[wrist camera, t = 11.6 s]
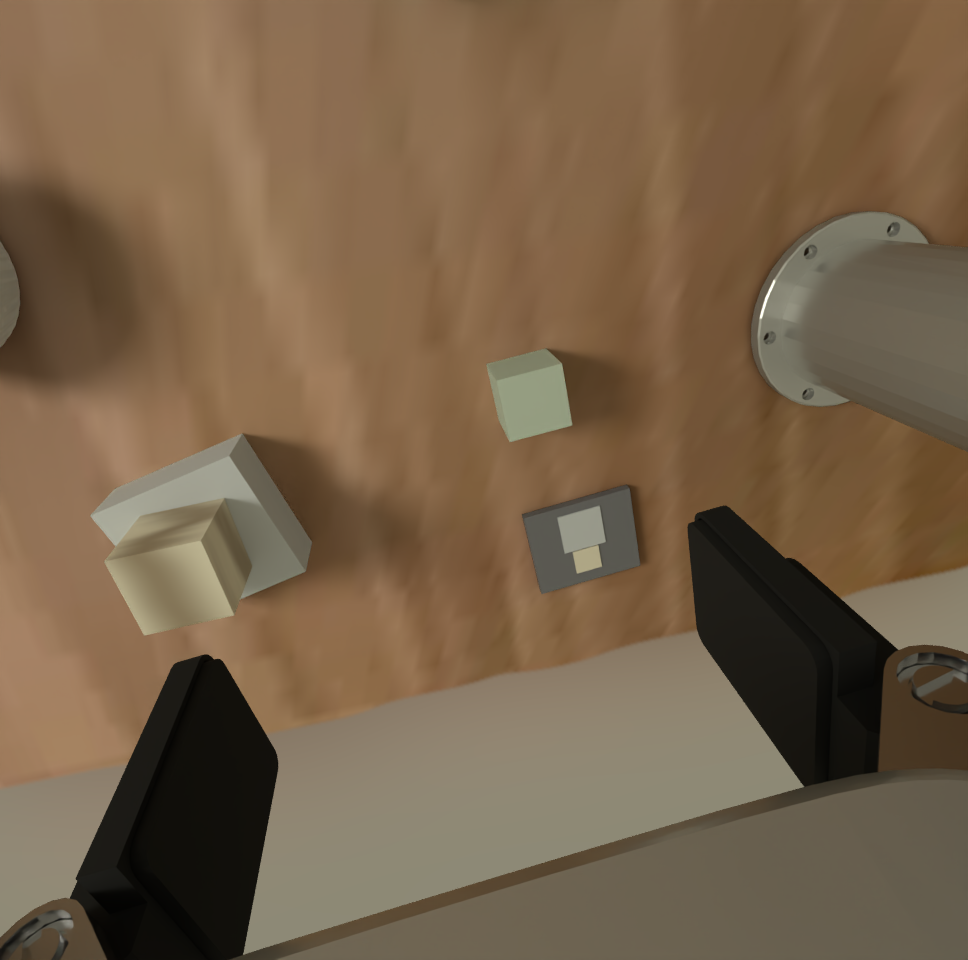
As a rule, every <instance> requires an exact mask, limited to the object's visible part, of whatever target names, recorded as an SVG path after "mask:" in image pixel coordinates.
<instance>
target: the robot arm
mask: <svg viewBox="0 0 968 960" xmlns="http://www.w3.org/2000/svg"><path fill="white" fill-rule="evenodd" d="M751 345H752V351H753V357H754V360H755V363H756V365H757V368H758V370H759V373H760V374H761V375H762V377H763V378H764V380H765V381H766V382H767V384H768V385H769V386H770V387H771V388H773V389H774V390H775V391H776V392H777V393H779V394H780V395H782V396H784V397H786V398H788V399H790V400H792V401H794V402H797V403H799V404H802V405H807V406H817V407H824V406H834V405H839V404H842V403H846V402H849V401H853V402H855V403H857V404H860V405H862V406H864V407H866V408H869V409H871V410H873V411H876V412H878V413H880V414H882V415H885V416H887V417H889V418H892V419H894V420H896V421H898V422H901V423H903V424H905V425H908V426H910V427H912V428H914V429H917V430H919V431H921V432H923V433H926V434H928V435H930V436H933V437H935V438H937V439H939V440H942V441H944V442H946V443H949V444H951V445H953V446H955V447H958V448H960V449H962V450H965V451H967V452H968V247H958V246H946V245H935V244H929V243H928V241H927V239H926V237H925V236H924V235H923V234H922V233H921V231H920V230H919V229H918V228H917V227H916V226H915V225H913V224H912V223H910V222H909V221H907V220H906V219H904V218H903V217H900V216H897V215H893V214H890V213H886V212H872V211H866V212H852V213H848V214H844V215H841V216H837V217H834V218H832V219H830V220H828V221H825V222H823V223H821V224H819V225H817V226H816V227H814V228H813V229H811V230H810V231H809V232H807V233H806V234H804V235H803V236H802V237H800V238H799V239H798V240H797V241H796V242H795V243H794V244H793V245H792V246H791V247H790V248H789V249H788V250H787V251H786V252H785V253H784V254H783V255H782V257H781V258H780V259H779V261H778V262H777V263H776V265H775V266H774V267H773V269H772V270H771V272H770V274H769V276H768V277H767V279H766V281H765V283H764V285H763V286H762V289H761V291H760V294H759V297H758V300H757V302H756V305H755V309H754V314H753V319H752V324H751ZM688 539H689V550H690V561H691V571H692V582H693V593H694V604H695V614H696V625H697V630H698V634H699V636H700V639H701V641H702V643H703V644H704V646H705V647H706V649H707V650H708V652H709V653H710V655H711V656H712V657H713V659H714V660H715V662H716V663H717V664H718V666H719V667H720V668H721V670H722V672H723V673H724V674H725V676H726V677H727V679H728V680H729V681H730V683H731V684H732V686H733V687H734V688H735V690H736V691H737V693H738V694H739V696H740V697H741V698H742V699H743V701H744V702H745V704H746V705H747V707H748V708H749V710H750V711H751V712H752V714H753V715H754V717H755V718H756V720H757V721H758V722H759V724H760V725H761V727H762V728H763V729H764V731H765V732H766V734H767V735H768V736H769V738H770V739H771V741H772V742H773V744H774V745H775V746H776V748H777V749H778V751H779V752H780V753H781V755H782V756H783V758H784V759H785V761H786V762H787V763H788V765H789V766H790V768H791V769H792V770H793V772H794V773H795V775H796V776H797V777H798V779H799V780H800V782H801V783H802V784H803V785H804V787H803V788H799V789H796V790H792V791H788V792H785V793H781V794H778V795H774V796H770V797H767V798H763V799H759V800H756V801H752V802H749V803H745V804H741V805H738V806H734V807H731V808H727V809H723V810H720V811H716V812H713V813H710V814H706V815H703V816H700V817H696V818H693V819H689V820H686V821H683V822H679V823H676V824H672V825H669V826H666V827H663V828H659V829H656V830H652V831H649V832H645V833H642V834H639V835H635V836H632V837H628V838H625V839H622V840H618V841H615V842H612V843H608V844H605V845H601V846H598V847H595V848H591V849H588V850H585V851H581V852H578V853H574V854H571V855H568V856H564V857H561V858H558V859H555V860H551V861H548V862H545V863H541V864H538V865H535V866H531V867H528V868H525V869H521V870H518V871H515V872H512V873H508V874H505V875H501V876H498V877H495V878H492V879H488V880H485V881H482V882H478V883H475V884H472V885H468V886H465V887H462V888H459V889H455V890H452V891H449V892H445V893H442V894H439V895H436V896H432V897H429V898H425V899H422V900H419V901H416V902H412V903H409V904H406V905H402V906H399V907H396V908H393V909H390V910H386V911H383V912H380V913H377V914H373V915H370V916H367V917H364V918H360V919H358V920H354V921H351V922H348V923H344V924H341V925H338V926H334V927H332V928H328V929H325V930H321V931H318V932H315V933H312V934H308V935H305V936H302V937H299V938H295V939H292V940H289V941H286V942H283V943H280V944H276V945H273V946H270V947H266V948H263V949H260V950H257V951H254V952H251V953H248V954H245V955H243V952H244V947H245V941H246V937H247V931H248V926H249V920H250V915H251V910H252V905H253V900H254V894H255V889H256V884H257V878H258V873H259V868H260V862H261V857H262V852H263V847H264V841H265V836H266V831H267V825H268V820H269V815H270V809H271V804H272V799H273V794H274V788H275V783H276V778H277V772H278V758H277V754H276V751H275V749H274V747H273V746H272V744H271V742H270V741H269V739H268V737H267V735H266V734H265V732H264V730H263V729H262V727H261V725H260V723H259V722H258V720H257V718H256V717H255V715H254V713H253V712H252V710H251V708H250V706H249V705H248V703H247V701H246V700H245V698H244V696H243V695H242V693H241V691H240V689H239V688H238V686H237V684H236V683H235V681H234V679H233V678H232V676H231V674H230V672H229V671H228V669H227V667H226V666H225V664H224V663H223V661H222V660H220V659H215V660H214V659H213V658H212V657H211V656H209V655H201V656H198V657H194V658H191V659H187V660H184V661H180V662H177V663H176V664H174V665H173V667H172V668H171V670H170V673H169V675H168V677H167V679H166V681H165V684H164V686H163V688H162V690H161V692H160V694H159V697H158V699H157V701H156V703H155V705H154V708H153V710H152V712H151V714H150V716H149V719H148V721H147V723H146V725H145V727H144V730H143V732H142V734H141V736H140V738H139V741H138V743H137V745H136V747H135V749H134V752H133V754H132V756H131V758H130V760H129V763H128V765H127V767H126V769H125V772H124V774H123V776H122V778H121V780H120V782H119V785H118V787H117V789H116V791H115V793H114V796H113V798H112V800H111V802H110V804H109V807H108V809H107V811H106V813H105V815H104V817H103V820H102V822H101V824H100V826H99V828H98V831H97V833H96V835H95V837H94V840H93V842H92V844H91V846H90V848H89V851H88V853H87V855H86V857H85V859H84V862H83V864H82V866H81V868H80V870H79V872H78V875H77V877H76V880H77V883H76V886H75V888H74V890H73V892H72V895H71V897H70V899H68V898H62V899H58V900H53V901H50V902H48V903H46V904H44V905H42V906H40V907H38V908H36V909H34V910H32V911H31V912H30V913H28V914H27V915H25V916H24V917H23V918H21V919H20V920H19V921H17V922H16V923H15V924H14V925H13V926H12V927H11V928H10V929H9V930H8V931H7V932H6V933H5V934H4V935H3V936H1V937H0V960H968V654H966V653H964V652H962V651H958V650H955V649H951V648H947V647H943V646H933V645H918V646H908V647H906V648H903V649H901V650H898V649H897V648H896V647H894V646H893V645H892V644H891V643H890V642H889V641H888V640H887V639H885V638H884V637H883V636H882V635H881V634H880V633H879V632H877V631H876V630H875V629H874V628H873V627H872V626H871V625H870V624H868V623H867V622H866V621H865V620H864V619H863V618H862V617H861V616H859V615H858V614H857V613H856V612H855V611H854V610H852V609H851V608H850V607H849V606H848V605H847V604H846V603H845V602H844V601H842V600H841V599H840V598H839V597H838V596H837V595H836V594H835V593H833V592H832V591H831V590H830V589H829V588H828V587H827V586H826V585H824V584H823V583H822V582H821V581H820V580H819V579H818V578H817V577H815V576H814V575H813V574H812V573H811V572H810V571H809V570H807V569H806V568H805V567H804V566H803V565H802V564H801V563H799V562H798V561H796V560H795V559H792V558H786V559H785V558H784V557H783V556H782V555H781V554H780V553H779V552H778V551H777V550H775V549H774V548H773V547H772V546H771V545H770V544H769V543H768V542H767V541H766V540H764V539H763V538H762V537H761V536H760V535H759V534H758V533H757V532H756V531H754V530H753V529H752V528H751V527H750V526H749V525H748V524H747V523H746V522H745V521H743V520H742V519H741V518H740V517H739V516H738V515H737V514H736V513H735V512H734V511H732V510H731V509H730V508H729V507H727V506H720V507H717V508H713V509H710V510H706V511H703V512H700V513H697V514H696V515H695V522H692V523H689V524H688Z"/></svg>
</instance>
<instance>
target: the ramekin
mask: <svg viewBox="0 0 968 960" xmlns="http://www.w3.org/2000/svg"><path fill="white" fill-rule="evenodd" d="M19 307H20V290H19V284H18V278H17V275H16V271H15V268H14V266H13V264H12V262H11V259H10V257H9V254H8V253H7V251H6V250H5V248H4V246H3V245H2V243H1V241H0V347H1V346H2V345H3V344H4V343H5V342H6V340H7V338H8V337H10V335H11V334H12V331H13V329H14V327H15V326H16V321H17V318H18V316H19Z"/></svg>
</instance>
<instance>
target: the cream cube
mask: <svg viewBox="0 0 968 960" xmlns="http://www.w3.org/2000/svg"><path fill="white" fill-rule="evenodd" d="M104 562H105V564H106V566H107V568H108V570H109V571H110V573H111V575H112V577H113V579H114V581H115V582H116V584H117V586H118V588H119V590H120V592H121V593H122V595H123V597H124V599H125V601H126V603H127V605H128V606H129V608H130V610H131V612H132V614H133V616H134V617H135V619H136V621H137V623H138V625H139V627H140V628H141V630H142V632H143V634H144V635H149V634H153V633H158V632H162V631H167V630H171V629H175V628H180V627H184V626H189V625H193V624H198V623H202V622H207V621H211V620H216V619H220V618H224V617H229V616H233V615H235V612H236V609H237V607H238V604H239V601H240V598H241V596H242V593H243V590H244V588H245V585H246V582H247V580H248V577H249V574H250V572H251V569H252V564H251V561H250V559H249V557H248V554H247V552H246V549H245V547H244V544H243V542H242V540H241V537H240V535H239V532H238V530H237V527H236V525H235V523H234V520H233V518H232V515H231V513H230V510H229V508H228V506H227V503H226V501H225V498H221V499H217V500H212V501H207V502H203V503H198V504H193V505H189V506H184V507H179V508H175V509H170V510H165V511H160V512H156V513H151V514H146V515H142V516H140V517H139V518H138V519H137V520H136V522H135V523H134V524H133V526H132V527H131V528H130V529H129V531H128V532H127V533H126V534H125V536H124V537H123V538H122V540H121V541H120V542H119V543H118V545H117V546H116V547H115V548H114V550H113V551H112V552H111V554H110V555H109V556H108V557H107V559H106V560H105V561H104Z"/></svg>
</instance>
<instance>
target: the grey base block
mask: <svg viewBox="0 0 968 960" xmlns="http://www.w3.org/2000/svg"><path fill="white" fill-rule="evenodd" d="M221 498H225V501H226V503H227V506H228V508H229V510H230V513H231V515H232V518H233V520H234V523H235V525H236V527H237V530H238V532H239V535H240V537H241V540H242V542H243V544H244V547H245V549H246V552H247V554H248V557H249V559H250V561H251V564H252V569H251V572H250V574H249V577H248V580H247V582H246V585H245V588H244V590H243V593H242V596H241V598H240V599H242V598H244V597H247V596H249V595H251V594H254V593H256V592H258V591H261V590H263V589H266V588H268V587H270V586H273V585H275V584H277V583H280V582H282V581H285V580H287V579H289V578H292V577H294V576H296V575H299V574H301V573H304V572H306V568H307V564H308V559H309V554H310V550H311V545H312V541H311V540H310V538H309V537H308V535H307V534H306V532H305V530H304V529H303V527H302V526H301V524H300V523H299V521H298V520H297V518H296V516H295V515H294V513H293V512H292V510H291V509H290V507H289V505H288V504H287V502H286V501H285V499H284V498H283V496H282V494H281V493H280V491H279V490H278V488H277V487H276V485H275V483H274V482H273V480H272V479H271V477H270V476H269V474H268V473H267V471H266V469H265V468H264V466H263V465H262V463H261V462H260V460H259V458H258V457H257V455H256V454H255V452H254V451H253V449H252V447H251V446H250V444H249V443H248V441H247V440H246V438H245V436H244V435H243V433H242V434H240V435H238V436H236V437H233V438H231V439H229V440H226V441H224V442H222V443H219V444H217V445H215V446H212V447H210V448H208V449H205V450H203V451H201V452H199V453H196V454H194V455H192V456H189V457H187V458H185V459H182V460H180V461H178V462H175V463H173V464H171V465H168V466H166V467H164V468H162V469H159V470H157V471H155V472H152V473H150V474H148V475H145V476H143V477H141V478H138V479H136V480H134V481H131V482H129V483H127V484H125V485H122V486H120V487H118V488H115V489H114V490H113V491H112V493H111V494H110V495H109V496H108V497H107V498H106V499H105V500H104V501H103V502H102V503H101V504H100V506H99V507H98V508H97V509H96V510H95V511H94V512H93V513H92V514H91V515H90V516H91V517H92V519H93V520H94V521H95V522H96V523H97V525H98V526H99V527H100V528H101V529H102V531H103V532H104V533H105V534H106V535H107V537H108V538H109V539H110V540H111V541H112V543H113V544H114V545H115V546H117V545H118V543H119V542H120V541H121V540H122V538H123V537H124V536H125V534H126V533H127V532H128V531H129V529H130V528H131V527H132V526H133V524H134V523H135V522H136V520H137V519H138V518H139V517H140V516H142V515H146V514H151V513H156V512H160V511H165V510H170V509H175V508H179V507H184V506H189V505H193V504H198V503H203V502H207V501H212V500H217V499H221Z"/></svg>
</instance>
